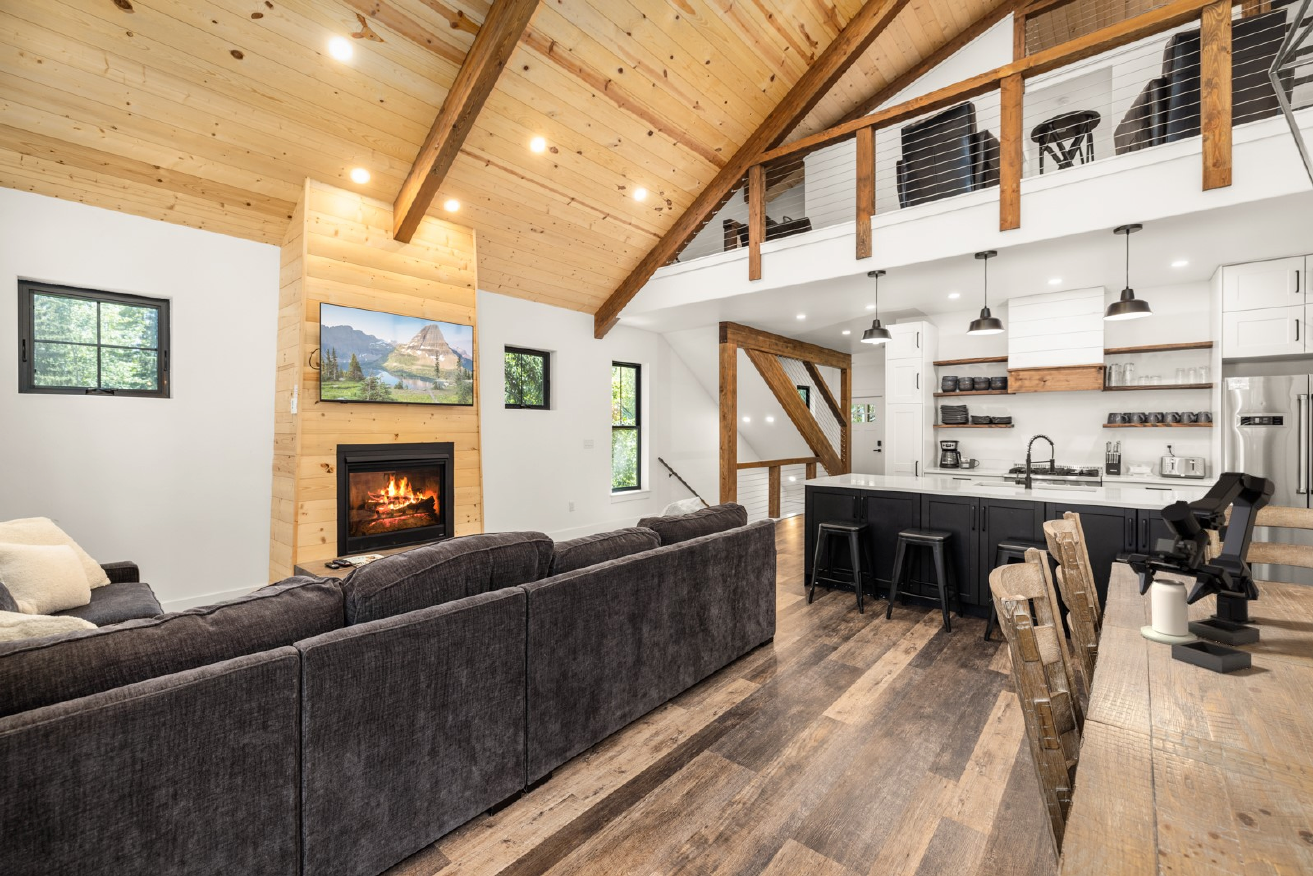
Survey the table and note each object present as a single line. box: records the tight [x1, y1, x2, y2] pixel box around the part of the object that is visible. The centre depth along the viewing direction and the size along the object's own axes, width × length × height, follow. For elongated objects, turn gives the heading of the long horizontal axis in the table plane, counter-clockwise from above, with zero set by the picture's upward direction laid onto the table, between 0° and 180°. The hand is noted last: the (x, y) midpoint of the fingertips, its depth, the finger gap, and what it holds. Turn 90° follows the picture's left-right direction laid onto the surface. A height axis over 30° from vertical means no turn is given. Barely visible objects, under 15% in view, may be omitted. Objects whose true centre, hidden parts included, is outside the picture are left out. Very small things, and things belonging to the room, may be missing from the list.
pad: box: [1140, 624, 1198, 646], centre depth 138 cm, size 10×10×2 cm
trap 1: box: [1170, 638, 1252, 674], centre depth 124 cm, size 9×9×3 cm
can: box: [1150, 578, 1189, 637], centre depth 138 cm, size 6×6×12 cm
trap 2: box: [1188, 617, 1261, 647], centre depth 138 cm, size 9×9×3 cm
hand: (1164, 598), depth 138 cm, fingers open, 9 cm apart
